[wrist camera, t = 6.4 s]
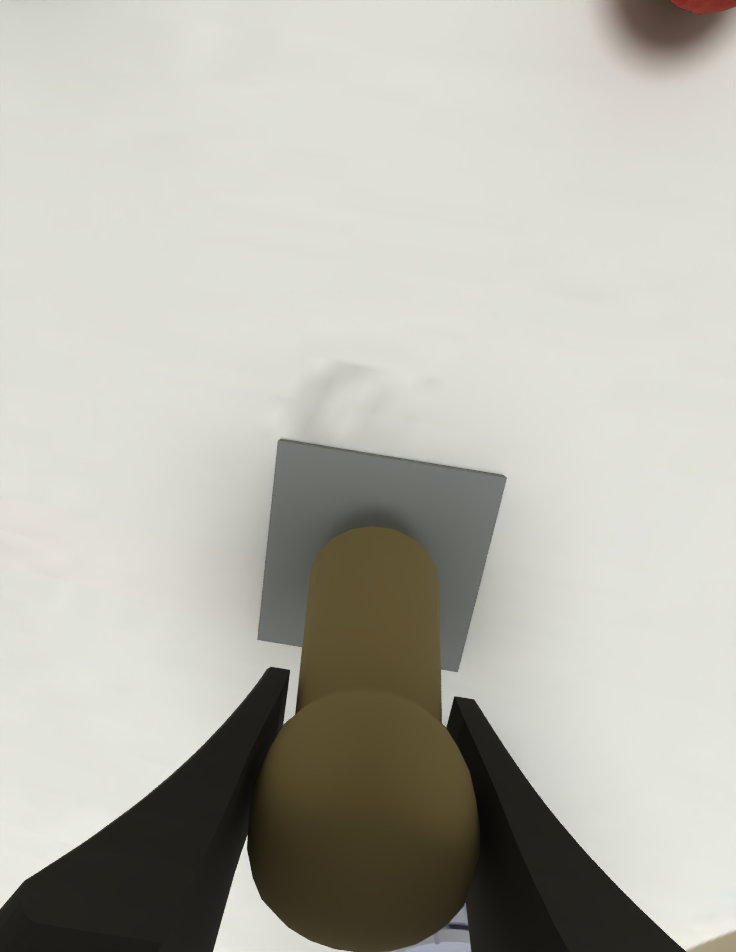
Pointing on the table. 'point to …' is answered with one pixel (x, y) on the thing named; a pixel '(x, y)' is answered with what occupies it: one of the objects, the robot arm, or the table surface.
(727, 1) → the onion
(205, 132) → the table surface
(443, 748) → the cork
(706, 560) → the table surface
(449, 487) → the placemat
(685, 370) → the table surface
